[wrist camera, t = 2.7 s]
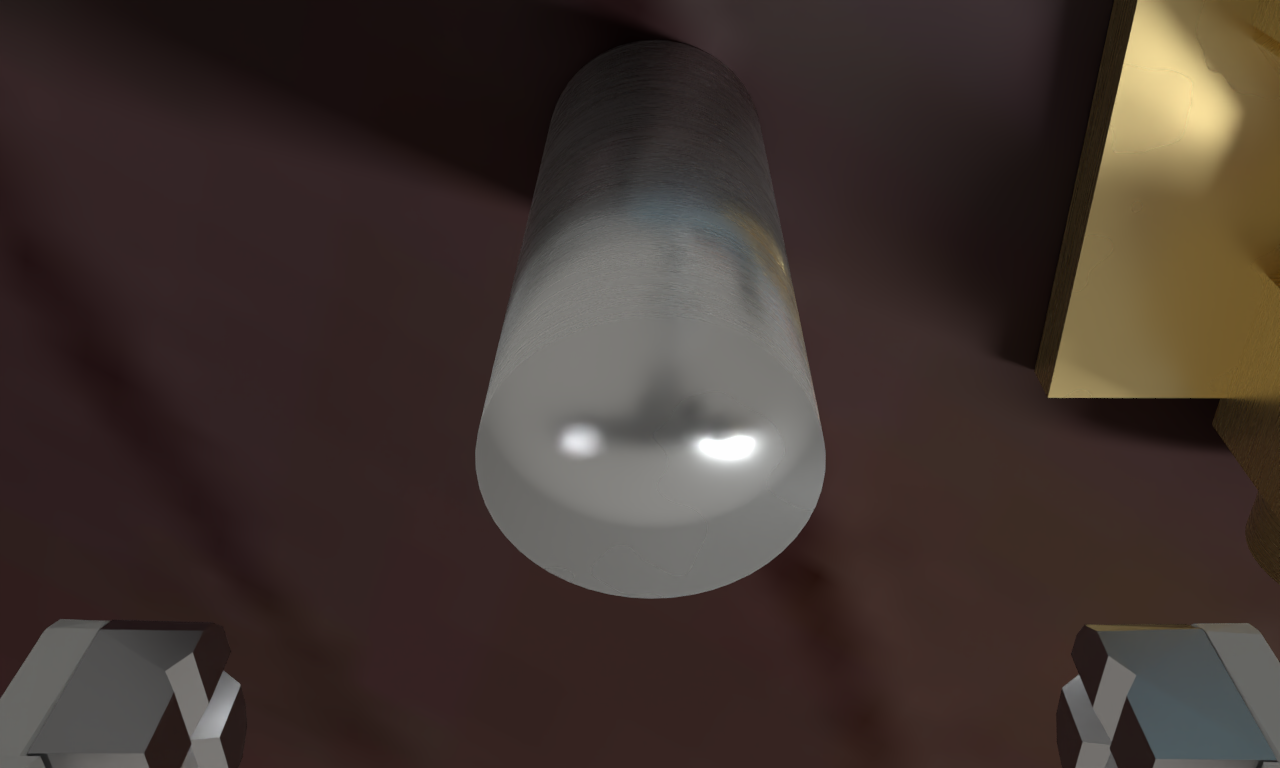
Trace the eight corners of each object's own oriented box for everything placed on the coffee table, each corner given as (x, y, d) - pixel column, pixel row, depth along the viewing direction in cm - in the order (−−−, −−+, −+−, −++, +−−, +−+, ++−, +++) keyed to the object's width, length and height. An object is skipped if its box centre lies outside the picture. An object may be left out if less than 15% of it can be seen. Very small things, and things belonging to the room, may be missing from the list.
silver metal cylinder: (542, 40, 20) (458, 319, 12) (766, 39, 20) (840, 318, 12) (553, 242, 22) (489, 597, 14) (756, 242, 22) (811, 599, 14)
